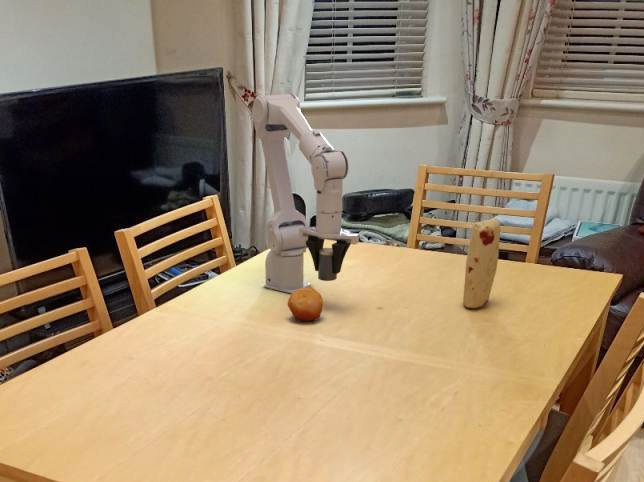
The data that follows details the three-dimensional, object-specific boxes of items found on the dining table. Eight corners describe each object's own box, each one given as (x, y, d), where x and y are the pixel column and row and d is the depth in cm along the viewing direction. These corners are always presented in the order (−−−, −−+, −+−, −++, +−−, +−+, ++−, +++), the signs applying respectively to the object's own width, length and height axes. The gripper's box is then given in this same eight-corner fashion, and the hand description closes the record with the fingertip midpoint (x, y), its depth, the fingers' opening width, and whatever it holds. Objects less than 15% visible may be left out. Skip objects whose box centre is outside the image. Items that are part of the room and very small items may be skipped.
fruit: (324, 304, 181) (323, 281, 174) (322, 331, 178) (321, 309, 170) (290, 303, 182) (288, 280, 174) (288, 330, 178) (285, 308, 171)
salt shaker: (320, 281, 176) (321, 253, 173) (316, 276, 180) (316, 248, 176) (338, 280, 177) (339, 251, 173) (333, 274, 181) (334, 246, 177)
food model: (480, 313, 179) (492, 226, 168) (454, 308, 182) (464, 222, 171) (496, 301, 186) (509, 217, 174) (471, 296, 189) (482, 213, 177)
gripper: (365, 210, 170) (363, 271, 177) (309, 203, 176) (308, 262, 183) (352, 217, 165) (349, 279, 172) (294, 210, 171) (294, 270, 178)
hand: (327, 271), depth 178 cm, fingers closed on salt shaker, 4 cm apart
